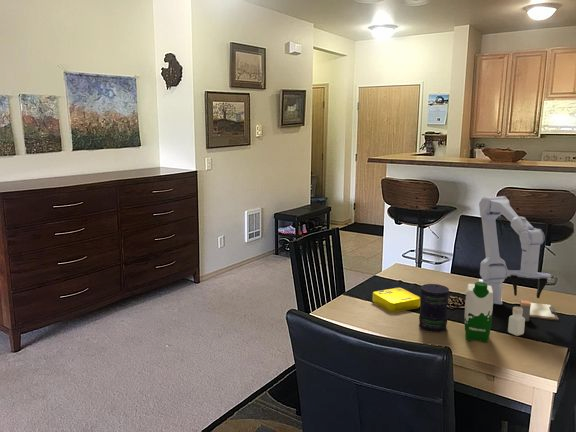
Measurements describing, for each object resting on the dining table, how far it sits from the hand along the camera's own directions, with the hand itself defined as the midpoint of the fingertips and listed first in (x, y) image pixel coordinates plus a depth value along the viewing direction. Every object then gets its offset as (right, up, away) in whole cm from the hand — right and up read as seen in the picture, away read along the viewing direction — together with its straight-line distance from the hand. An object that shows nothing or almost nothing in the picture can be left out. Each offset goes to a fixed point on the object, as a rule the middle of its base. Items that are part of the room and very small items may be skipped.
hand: (526, 296), depth 179 cm
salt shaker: (-9, -12, -10) cm, 18 cm away
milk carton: (-24, -12, -13) cm, 30 cm away
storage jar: (-37, -11, -5) cm, 39 cm away
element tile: (-45, -7, +18) cm, 49 cm away
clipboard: (+10, -8, +10) cm, 16 cm away
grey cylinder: (0, -9, +2) cm, 9 cm away
